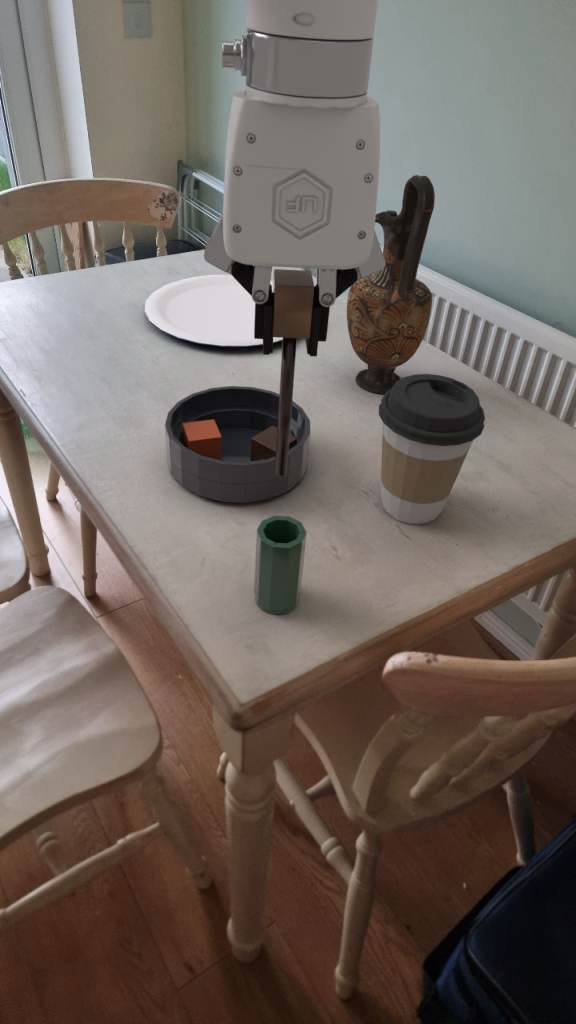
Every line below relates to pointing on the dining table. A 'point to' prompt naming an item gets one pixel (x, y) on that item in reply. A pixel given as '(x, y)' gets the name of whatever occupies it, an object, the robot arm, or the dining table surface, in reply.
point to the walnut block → (267, 444)
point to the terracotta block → (203, 438)
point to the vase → (393, 293)
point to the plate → (206, 311)
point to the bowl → (235, 444)
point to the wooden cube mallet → (289, 344)
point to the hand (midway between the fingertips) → (289, 345)
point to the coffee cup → (425, 443)
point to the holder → (279, 564)
